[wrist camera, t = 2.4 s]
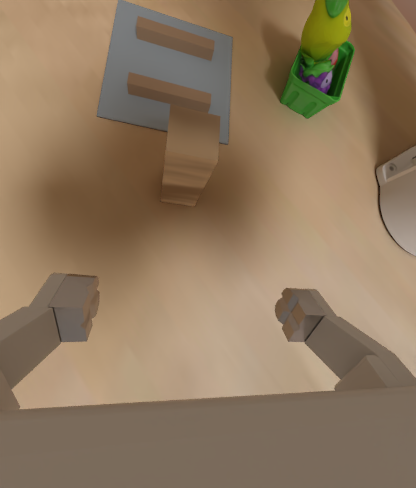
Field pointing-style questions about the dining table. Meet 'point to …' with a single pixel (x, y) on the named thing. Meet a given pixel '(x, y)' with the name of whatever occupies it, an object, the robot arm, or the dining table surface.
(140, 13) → the mat
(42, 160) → the dining table surface
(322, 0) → the fruit basket
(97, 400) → the dining table surface
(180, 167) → the card block
